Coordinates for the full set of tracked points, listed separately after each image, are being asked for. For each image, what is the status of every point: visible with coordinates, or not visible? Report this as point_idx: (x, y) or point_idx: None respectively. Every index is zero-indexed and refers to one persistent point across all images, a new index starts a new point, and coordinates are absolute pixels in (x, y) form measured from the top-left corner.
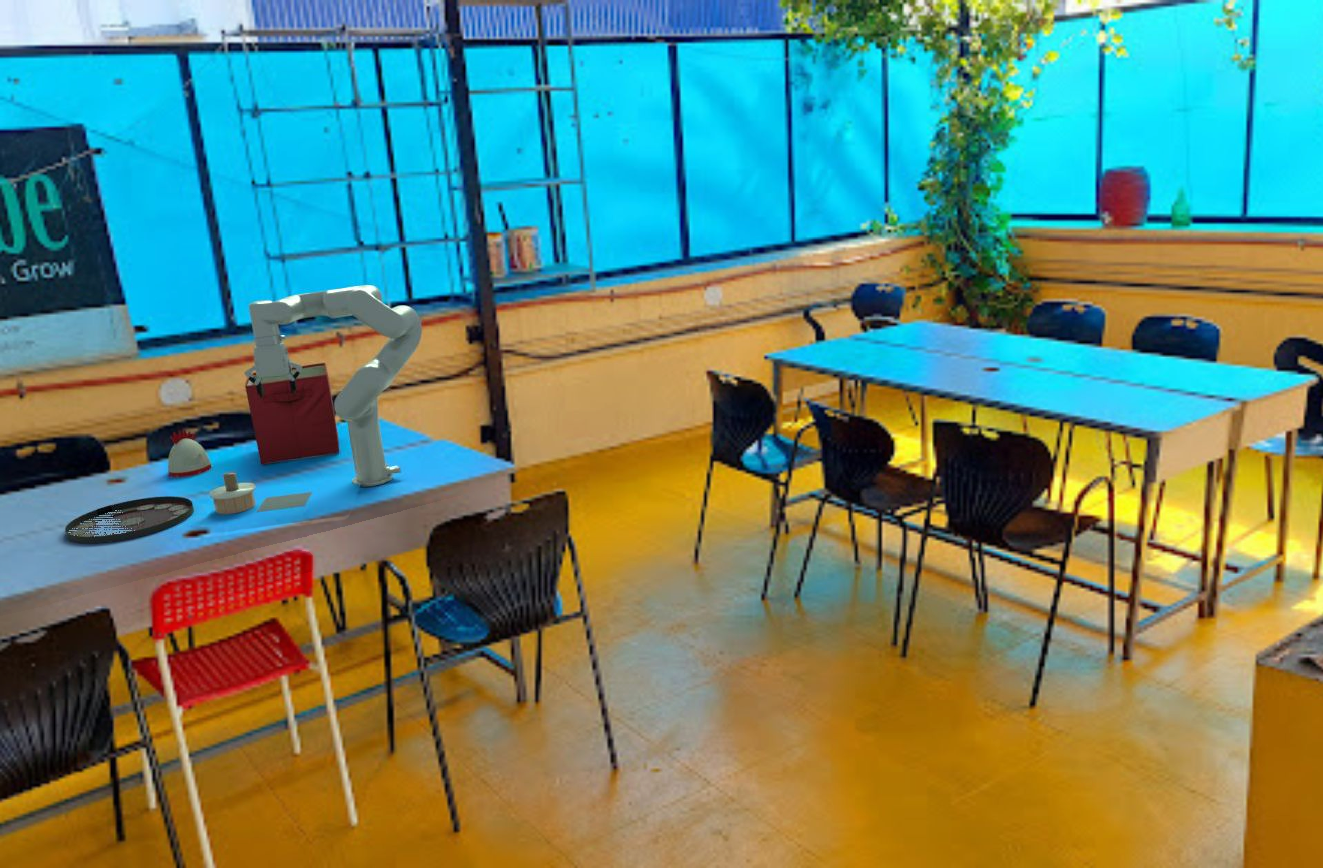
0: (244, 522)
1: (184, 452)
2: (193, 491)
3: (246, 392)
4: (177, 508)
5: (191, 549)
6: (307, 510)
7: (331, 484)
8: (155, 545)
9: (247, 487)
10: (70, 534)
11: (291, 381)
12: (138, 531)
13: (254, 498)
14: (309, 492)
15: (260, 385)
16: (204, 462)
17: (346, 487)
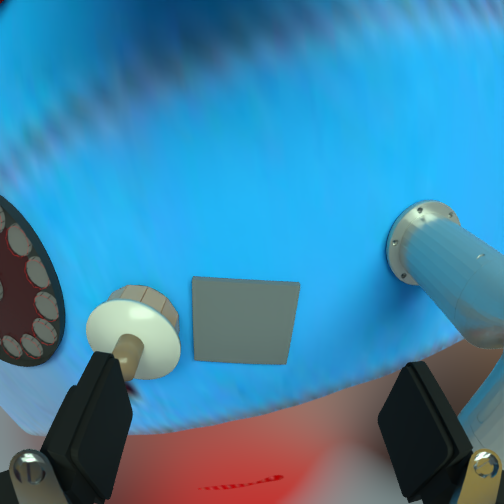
0: (182, 379)
1: None
2: (11, 121)
3: None
4: (21, 244)
5: (141, 431)
6: (289, 367)
7: (341, 217)
8: None
9: (163, 347)
10: None
11: (419, 499)
12: (35, 364)
13: (176, 321)
14: (293, 288)
15: (106, 495)
16: None
17: (371, 261)
